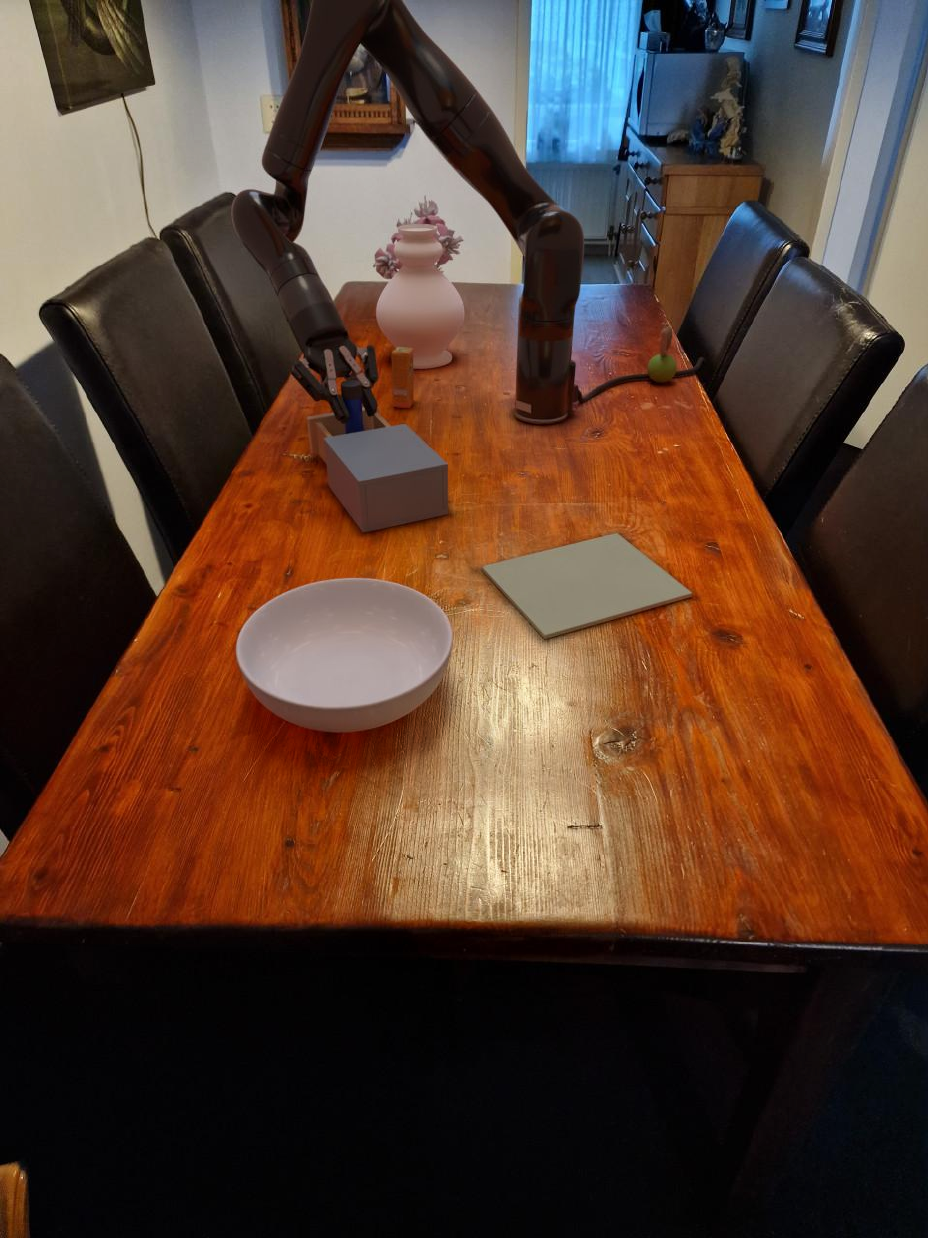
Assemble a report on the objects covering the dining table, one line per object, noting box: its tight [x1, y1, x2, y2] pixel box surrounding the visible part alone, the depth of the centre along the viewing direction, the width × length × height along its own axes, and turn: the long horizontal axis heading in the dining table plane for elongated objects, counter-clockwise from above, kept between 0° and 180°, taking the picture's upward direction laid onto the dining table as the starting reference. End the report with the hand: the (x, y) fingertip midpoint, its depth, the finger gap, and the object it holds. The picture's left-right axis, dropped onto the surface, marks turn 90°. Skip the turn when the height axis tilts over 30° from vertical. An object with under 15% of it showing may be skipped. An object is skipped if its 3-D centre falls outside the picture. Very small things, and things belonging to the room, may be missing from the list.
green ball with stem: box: [646, 322, 678, 384], centre depth 154 cm, size 5×6×12 cm
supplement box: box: [391, 347, 414, 409], centre depth 145 cm, size 3×3×10 cm
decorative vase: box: [375, 223, 466, 370], centre depth 162 cm, size 18×18×25 cm
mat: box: [481, 532, 693, 640], centre depth 99 cm, size 20×16×1 cm
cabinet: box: [323, 423, 449, 534], centre depth 115 cm, size 16×13×8 cm
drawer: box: [306, 407, 392, 464], centre depth 125 cm, size 19×11×6 cm, turn 25°
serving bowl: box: [235, 577, 454, 733], centre depth 81 cm, size 21×21×7 cm
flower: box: [372, 195, 465, 280], centre depth 193 cm, size 20×22×25 cm
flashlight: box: [340, 379, 364, 434], centre depth 123 cm, size 3×3×11 cm
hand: (359, 416), depth 121 cm, fingers open, 4 cm apart
